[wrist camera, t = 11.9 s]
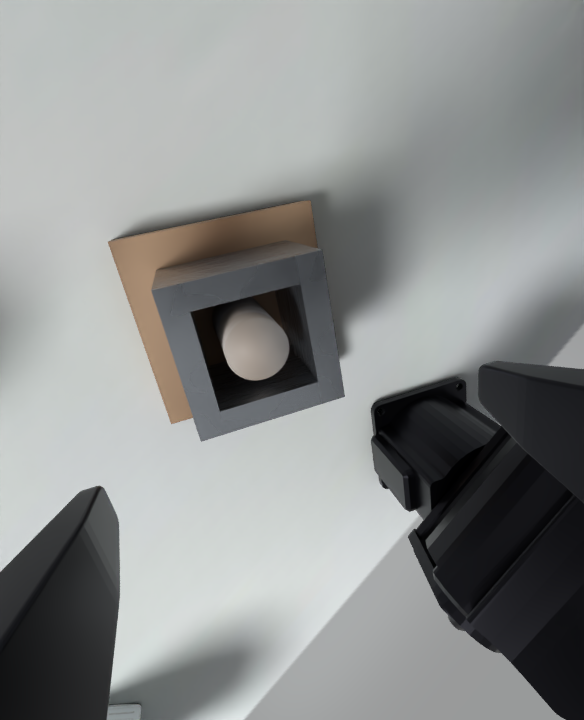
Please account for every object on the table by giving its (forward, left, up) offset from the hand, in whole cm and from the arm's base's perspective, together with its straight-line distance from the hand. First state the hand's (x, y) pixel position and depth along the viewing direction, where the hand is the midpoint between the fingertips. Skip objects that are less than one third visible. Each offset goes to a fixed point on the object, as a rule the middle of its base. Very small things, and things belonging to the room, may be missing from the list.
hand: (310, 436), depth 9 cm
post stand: (0, 0, -13) cm, 13 cm away
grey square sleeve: (0, 0, -11) cm, 11 cm away
